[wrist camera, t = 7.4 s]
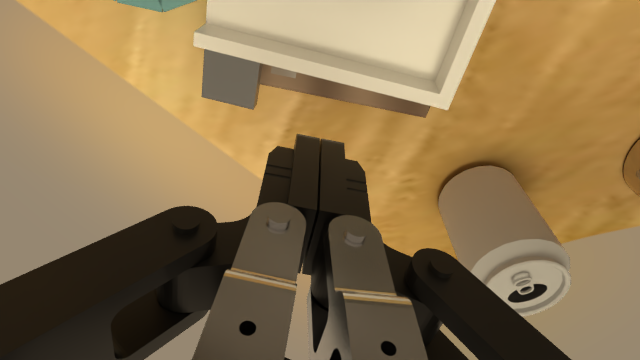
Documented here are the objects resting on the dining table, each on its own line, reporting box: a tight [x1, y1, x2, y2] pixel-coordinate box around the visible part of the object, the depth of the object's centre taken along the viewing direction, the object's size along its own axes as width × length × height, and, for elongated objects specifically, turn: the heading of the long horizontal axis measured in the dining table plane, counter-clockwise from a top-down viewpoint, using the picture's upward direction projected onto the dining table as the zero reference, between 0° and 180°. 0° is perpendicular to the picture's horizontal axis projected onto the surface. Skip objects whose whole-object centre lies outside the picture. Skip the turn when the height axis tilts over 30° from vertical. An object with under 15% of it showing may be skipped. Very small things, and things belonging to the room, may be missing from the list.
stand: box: [260, 64, 430, 118], centre depth 27 cm, size 16×14×6 cm
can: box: [438, 166, 571, 316], centre depth 34 cm, size 8×8×12 cm
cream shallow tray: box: [193, 0, 496, 110], centre depth 24 cm, size 15×11×3 cm
